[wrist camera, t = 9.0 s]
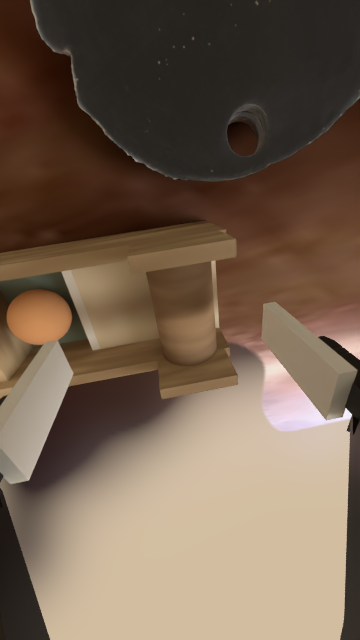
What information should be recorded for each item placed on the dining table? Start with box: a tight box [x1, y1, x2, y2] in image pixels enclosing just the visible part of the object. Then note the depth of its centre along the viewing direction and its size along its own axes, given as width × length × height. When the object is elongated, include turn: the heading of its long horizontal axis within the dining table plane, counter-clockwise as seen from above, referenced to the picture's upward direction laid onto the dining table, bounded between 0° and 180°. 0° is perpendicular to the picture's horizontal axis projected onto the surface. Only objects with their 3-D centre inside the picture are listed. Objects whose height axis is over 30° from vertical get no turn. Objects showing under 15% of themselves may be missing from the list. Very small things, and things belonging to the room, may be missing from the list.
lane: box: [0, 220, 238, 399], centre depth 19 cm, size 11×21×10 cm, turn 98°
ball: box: [7, 289, 72, 345], centre depth 21 cm, size 5×5×5 cm
